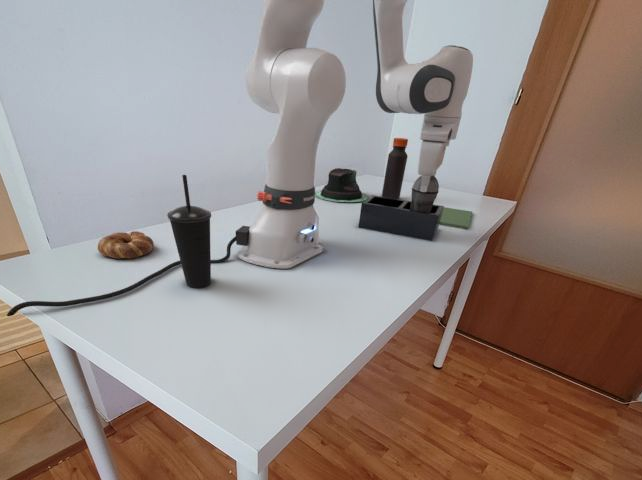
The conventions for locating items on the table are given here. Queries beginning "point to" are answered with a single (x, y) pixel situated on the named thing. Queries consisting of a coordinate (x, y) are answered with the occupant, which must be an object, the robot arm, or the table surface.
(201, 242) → the drinking cup
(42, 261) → the table surface
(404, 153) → the bottle
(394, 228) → the black divided storage box
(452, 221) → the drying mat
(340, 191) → the black fabric hat shape
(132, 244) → the braided bread ring
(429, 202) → the beverage cup
